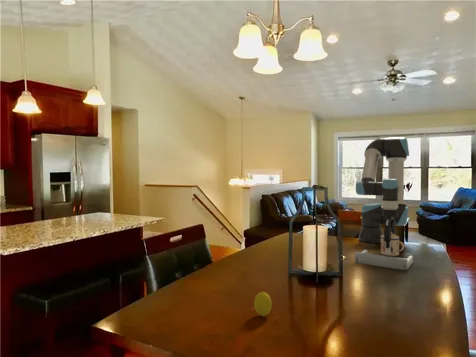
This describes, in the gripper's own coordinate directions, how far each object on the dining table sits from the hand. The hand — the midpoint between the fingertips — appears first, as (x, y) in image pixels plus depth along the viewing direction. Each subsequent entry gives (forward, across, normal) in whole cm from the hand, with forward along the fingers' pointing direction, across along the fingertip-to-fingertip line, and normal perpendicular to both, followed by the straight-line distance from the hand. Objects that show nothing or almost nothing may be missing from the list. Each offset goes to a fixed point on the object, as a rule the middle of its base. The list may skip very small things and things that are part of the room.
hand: (389, 252), depth 178 cm
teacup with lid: (+1, 0, +1) cm, 2 cm away
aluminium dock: (+2, +13, 0) cm, 13 cm away
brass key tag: (+2, +17, -19) cm, 26 cm away
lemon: (+3, +98, -17) cm, 99 cm away
